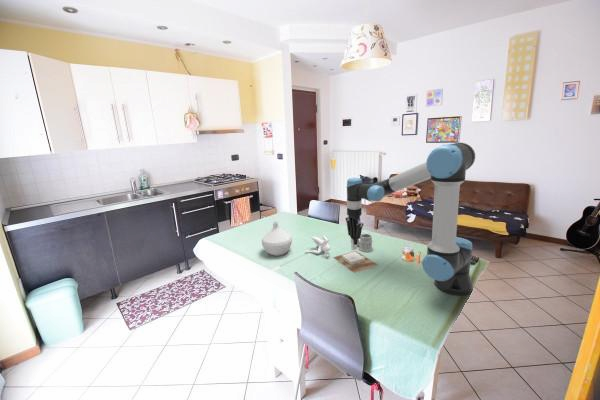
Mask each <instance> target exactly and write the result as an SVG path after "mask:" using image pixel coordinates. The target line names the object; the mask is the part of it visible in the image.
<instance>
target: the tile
mask: <svg viewBox="0 0 600 400" xmlns="http://www.w3.org/2000/svg"><path fill="white" fill-rule="evenodd" d="M352 252H353V253H351V252H348V253H349V254H347V253H344V254H345V255H343V254H341V255H342V259H343V260H345V261H346V262H348V263H349V264H351V265H353V264H357V263H360V262H364V261H365V258H364V257H363V256H364V255H363V256H361V255H359V254H358V253H359V252H358V253H356V252H354V251H352Z"/></svg>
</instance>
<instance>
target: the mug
mask: <svg viewBox="0 0 600 400" xmlns="http://www.w3.org/2000/svg"><path fill="white" fill-rule="evenodd" d="M372 237H373V236H372V234H369V233H361V237H360V239H357V247H358V249H359V250H360V252H364V253H370V252H372V251H373V239H372Z"/></svg>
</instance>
